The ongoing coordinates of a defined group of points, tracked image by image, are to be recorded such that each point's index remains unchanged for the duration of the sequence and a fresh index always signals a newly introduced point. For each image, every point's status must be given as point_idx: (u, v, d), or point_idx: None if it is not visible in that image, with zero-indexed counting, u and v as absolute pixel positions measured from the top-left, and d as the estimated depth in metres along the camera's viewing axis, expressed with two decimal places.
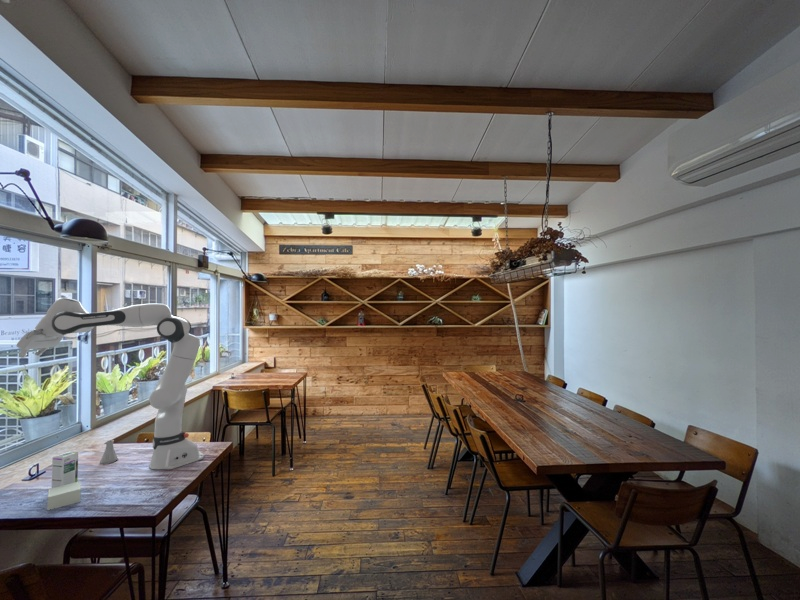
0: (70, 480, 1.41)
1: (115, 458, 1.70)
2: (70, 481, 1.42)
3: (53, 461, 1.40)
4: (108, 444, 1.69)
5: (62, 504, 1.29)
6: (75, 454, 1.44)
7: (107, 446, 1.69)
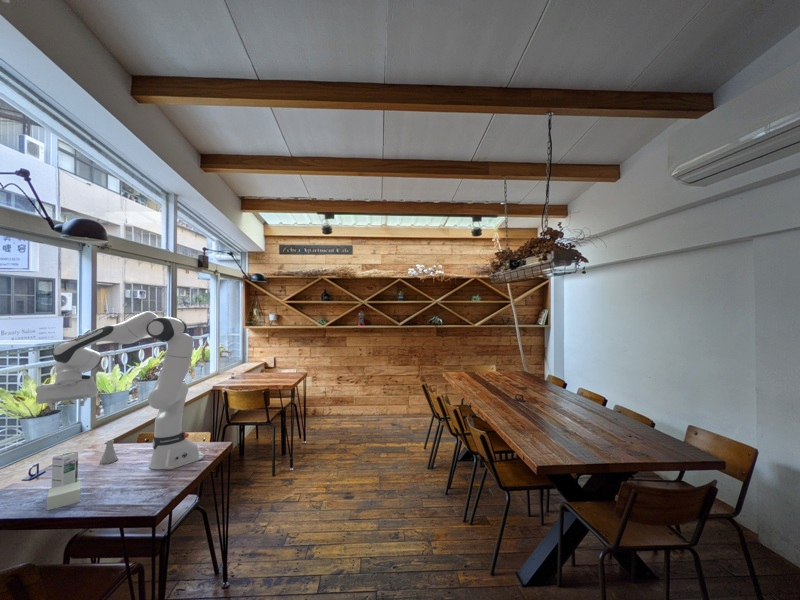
0: (70, 480, 1.41)
1: (115, 458, 1.70)
2: (70, 481, 1.42)
3: (53, 461, 1.40)
4: (108, 444, 1.69)
5: (61, 504, 1.29)
6: (75, 454, 1.44)
7: (107, 446, 1.69)
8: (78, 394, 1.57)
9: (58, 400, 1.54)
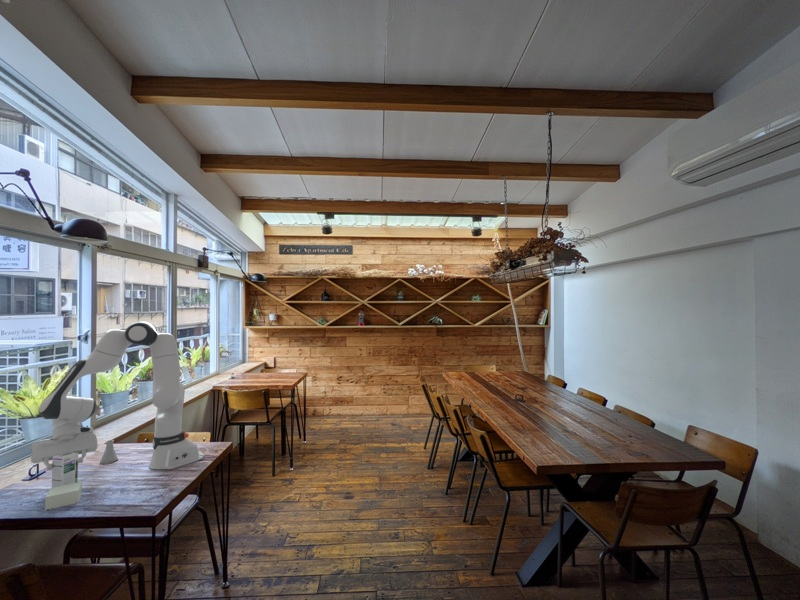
0: (70, 480, 1.41)
1: (115, 458, 1.70)
2: (70, 481, 1.42)
3: (53, 461, 1.40)
4: (108, 444, 1.69)
5: (60, 504, 1.29)
6: (75, 454, 1.44)
7: (107, 446, 1.69)
8: (77, 450, 1.46)
9: None
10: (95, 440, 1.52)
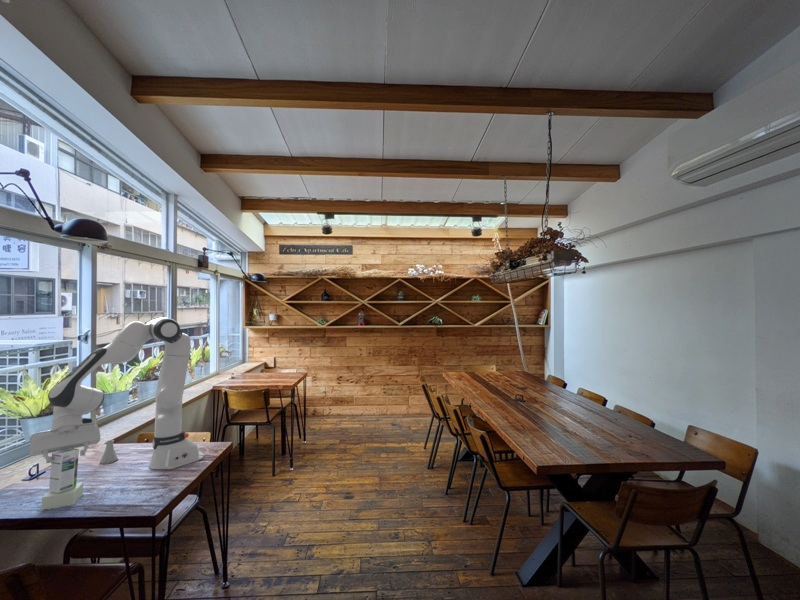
0: (68, 479, 1.32)
1: (115, 458, 1.70)
2: (69, 481, 1.32)
3: (52, 458, 1.32)
4: (108, 444, 1.69)
5: (56, 506, 1.28)
6: (75, 451, 1.34)
7: (107, 446, 1.69)
8: (78, 442, 1.37)
9: (55, 450, 1.34)
10: (98, 432, 1.43)
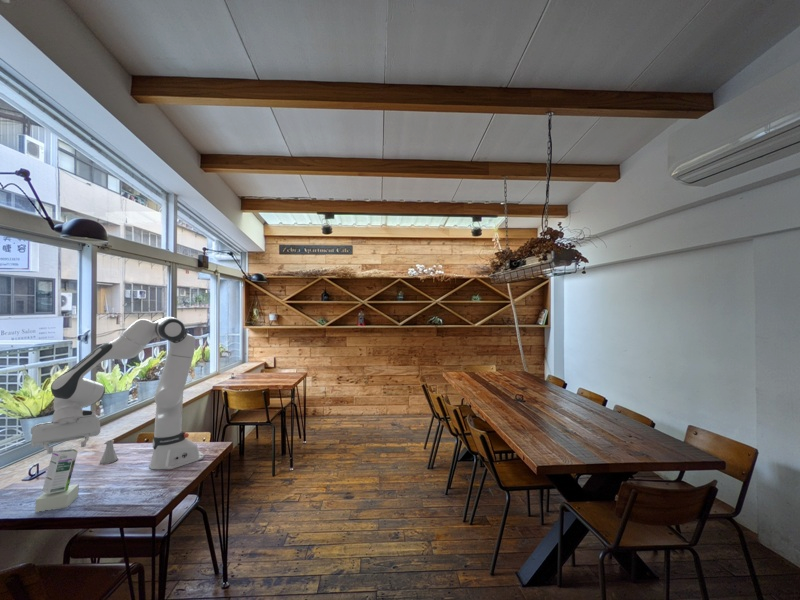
0: (61, 481, 1.30)
1: (115, 458, 1.70)
2: (61, 483, 1.30)
3: (52, 456, 1.31)
4: (108, 444, 1.69)
5: (49, 508, 1.27)
6: (73, 453, 1.33)
7: (107, 446, 1.69)
8: (79, 433, 1.40)
9: (56, 441, 1.36)
10: (98, 424, 1.45)
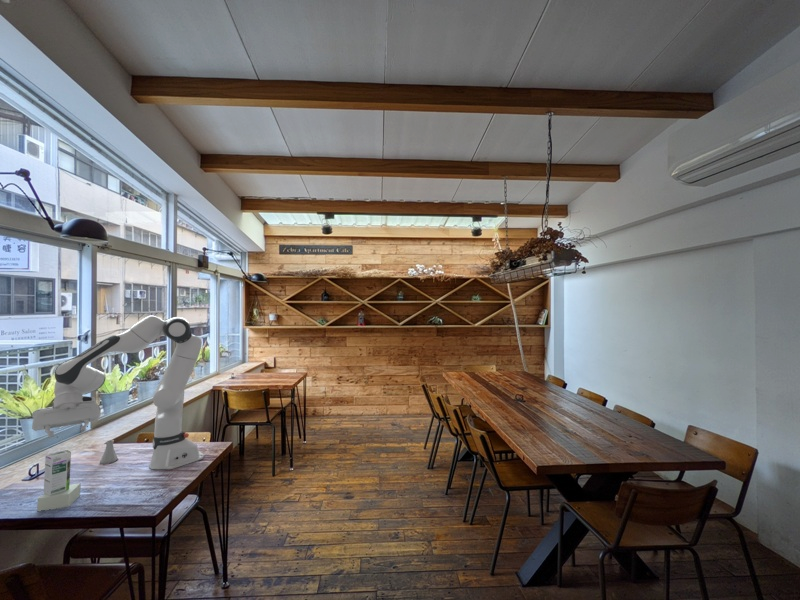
0: (59, 482, 1.30)
1: (115, 458, 1.70)
2: (61, 483, 1.30)
3: (45, 459, 1.30)
4: (108, 444, 1.69)
5: (51, 507, 1.27)
6: (66, 454, 1.32)
7: (107, 446, 1.69)
8: (79, 418, 1.43)
9: (57, 426, 1.40)
10: (97, 409, 1.49)
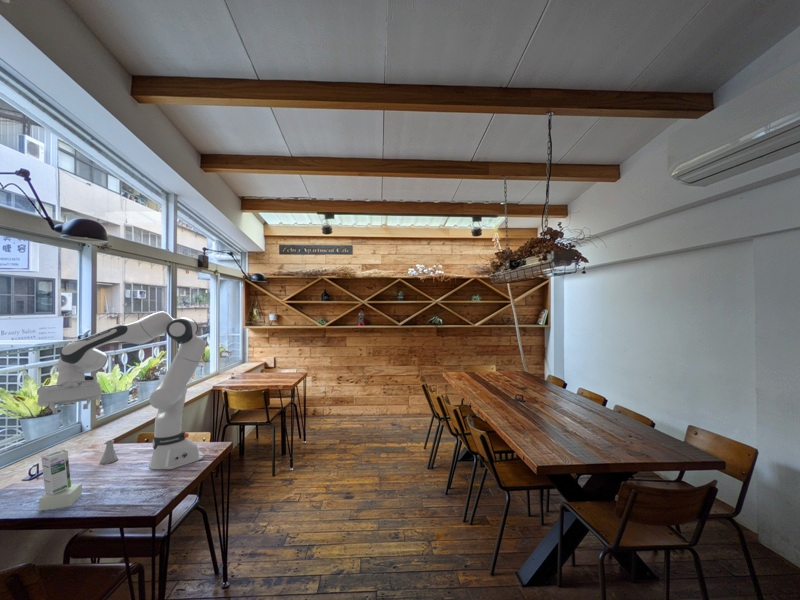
0: (60, 481, 1.30)
1: (115, 458, 1.70)
2: (62, 482, 1.30)
3: (42, 461, 1.30)
4: (108, 444, 1.69)
5: (53, 507, 1.27)
6: (63, 453, 1.31)
7: (107, 446, 1.69)
8: (81, 397, 1.51)
9: (60, 402, 1.48)
10: (99, 389, 1.56)
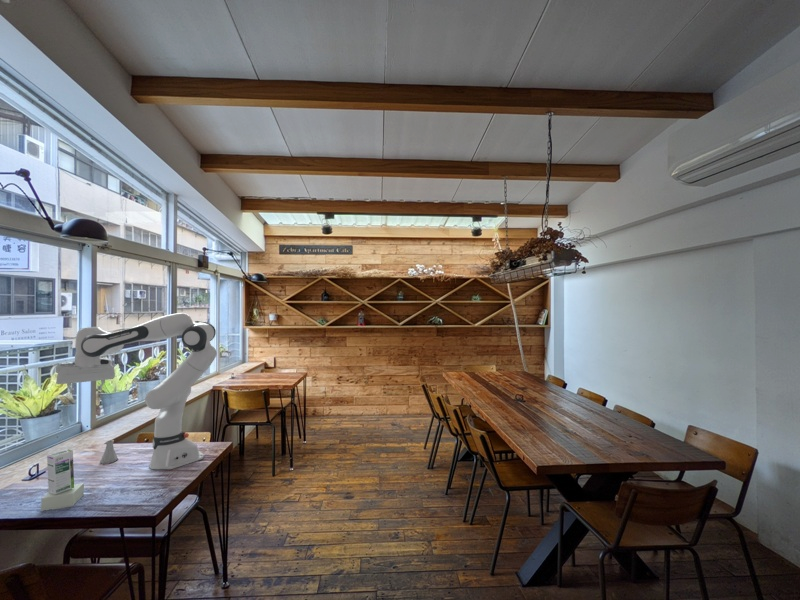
0: (64, 480, 1.30)
1: (115, 458, 1.70)
2: (65, 482, 1.31)
3: (47, 460, 1.30)
4: (108, 444, 1.69)
5: (55, 507, 1.27)
6: (68, 453, 1.32)
7: (107, 446, 1.69)
8: (96, 379, 1.61)
9: None
10: (113, 372, 1.65)
